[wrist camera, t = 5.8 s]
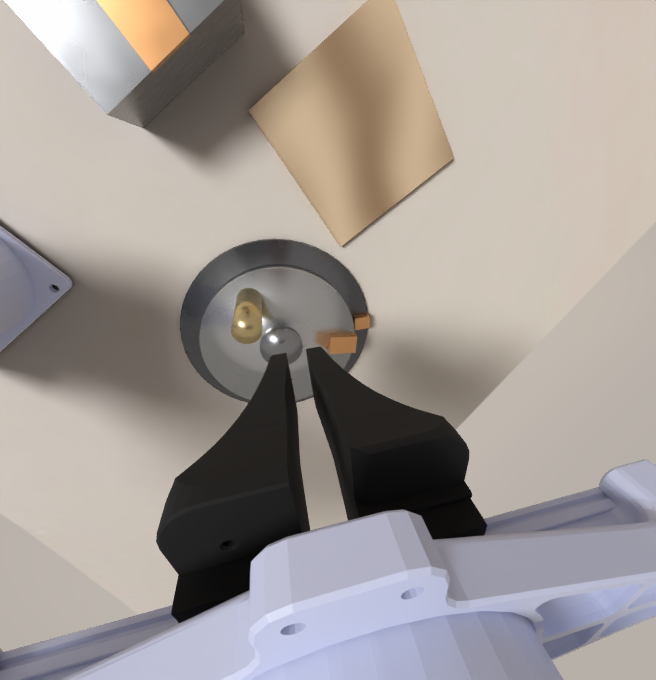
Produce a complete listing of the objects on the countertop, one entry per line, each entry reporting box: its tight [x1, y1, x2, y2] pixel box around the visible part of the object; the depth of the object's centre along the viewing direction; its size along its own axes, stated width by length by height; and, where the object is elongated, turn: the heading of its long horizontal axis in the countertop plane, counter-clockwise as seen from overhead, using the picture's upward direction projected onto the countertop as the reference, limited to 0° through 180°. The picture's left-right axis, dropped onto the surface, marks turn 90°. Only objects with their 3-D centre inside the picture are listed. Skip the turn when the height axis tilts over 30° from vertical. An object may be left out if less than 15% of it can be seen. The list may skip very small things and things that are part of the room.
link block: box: [4, 0, 244, 128], centre depth 12 cm, size 7×4×5 cm, turn 125°
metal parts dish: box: [180, 239, 370, 402], centre depth 23 cm, size 14×14×1 cm
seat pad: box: [249, 0, 454, 246], centre depth 18 cm, size 9×9×1 cm
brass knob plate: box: [199, 264, 357, 401], centre depth 20 cm, size 11×11×6 cm
